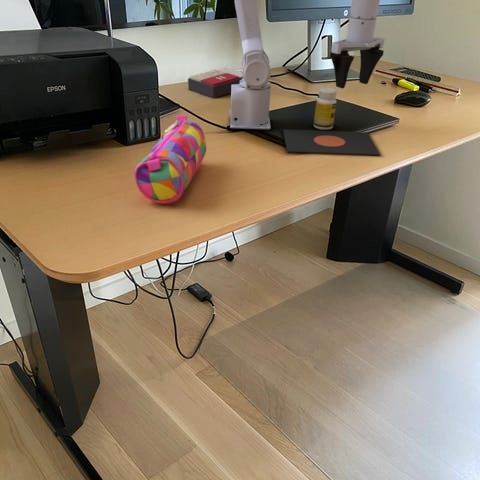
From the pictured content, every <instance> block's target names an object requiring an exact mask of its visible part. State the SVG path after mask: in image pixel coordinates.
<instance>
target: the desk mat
mask: <svg viewBox="0 0 480 480" xmlns="http://www.w3.org/2000/svg"><path fill="white" fill-rule="evenodd" d="M282 132H283V137H284V142H285V147H286V153H287V154H308V155H310V154H311V155H314V154H315V155H334V156H335V155H337V156H338V155H339V156H366V157H381V153H380V152H379V150H378V148H377V146H376V145H375V143H374V141H373V140H372V138H371V136H370V134H369V133H368V132H365V131H337V130H336V131H335V130H312V129H283V130H282Z"/></svg>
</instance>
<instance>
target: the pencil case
mask: <svg viewBox="0 0 480 480" xmlns="http://www.w3.org/2000/svg"><path fill="white" fill-rule="evenodd" d="M206 153H207V140H206V136H205V133H204V131H203V129H202V128H201V126H200V125H199V124H198V123H196V122H193V121H190V120H188V115H185V114H184V115H176V116H175V121H174V122H172V123H171V124H170V126H168V128H166V129H165V130H164V134H163V135H162V136H161V139H160V140H159V141H158V142H157V143H156V144H155V145H154V146H153V147H152V150H151V151H150V152H149V154H148V155H147V156H145V157H144V158H143V159H142V160H141V161H140V162H139V163H138V164H137V165H136V166H135V168H134V172H133V176H134V181H135V184H136V186H137V188H138V190H139V192H140V193H141V195H142V196H143V197H144V198H146V199H147V200H149V201H151V202H152V203H157V204H162V205H167V204H173V203H175V202H177V201H178V200H179V199H180V198H181V197H182V196H183V194H184V193H185V190H186V189H187V188H188V186H189V184H190V183H191V182H192V180H193V179H194V176H195V174H196V172H197V170H198V169H199V167H200V166H201V165H202V163H203V161H204V158H205V156H206Z"/></svg>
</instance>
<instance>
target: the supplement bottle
mask: <svg viewBox="0 0 480 480" xmlns="http://www.w3.org/2000/svg"><path fill="white" fill-rule="evenodd" d="M336 98H337V89H334V88H329V87H324V88H320V89H319V90H318V98H317V99H316V103H315V110H314V119H313V128H315V129H317V130H320V131H330V130H332V129H333V128H334V123H335V117H336V116H335V115H336V109H337V99H336ZM320 125H321V126H320ZM329 125H331V126H329Z"/></svg>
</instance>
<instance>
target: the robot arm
mask: <svg viewBox="0 0 480 480" xmlns="http://www.w3.org/2000/svg"><path fill="white" fill-rule="evenodd" d="M380 2H381V0H351V4H350V11H349V18H348V26H347V32H346V38H344V39H341V40H337V41H333V42H331V50H330V51H329V52H330V53H329V57H330V59H331V62H332V65H333V70H334V77H335V78H334V79H335V86H336V87H337V88H340V89H345V88H346V84H347V80H348V75H349V71H350V68H351V66H352V64H353V61H354V59H355V56H353V55H350V53H349V52H356V51H357V52H358V51H359V56H360V67H359V77H358V82H359V83H360V84H362V85H368V84H369V82H370V79H371V77H372V74H373V73H374V70H375V68H376V66H377V65H378V62H379V61H380V60H381V58H382V57H383V56H384V53H385V51H384V50H383V49H384V46H385V45H384V44H385V38H383V37H379V36H377V37H374V35H375V30H376V24H377V18H378V13H379V7H380ZM234 8H235V12H236V17H237V25H238V29H239V35H240V41H241V47H242V54H243V58H242V64H241V65H242V71H241V72H242V75H243V79H242V80H240V84H233V85H231V93H230V109H229V111H228V113H229V114H228V115H229V116H228V118H229V119H230V124H229V125H230V126H229V127H230V129H238V130H239V129H243V130H266V131H269V130H271V120H270V116H269V115H270V106H271V105H270V102H271V89H272V87H271V86H272V83H271V81H270V79H271V76H272V69H271V68H272V67H271V65H270V59H269V56H268V54H267V53H266V52H265V50H264V46H263V39H262V32H261V26H260V20H259V14H258V13H259V12H258V7H257V0H234ZM267 122H268V123H267ZM265 123H266V124H265ZM260 124H263V125H260Z"/></svg>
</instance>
